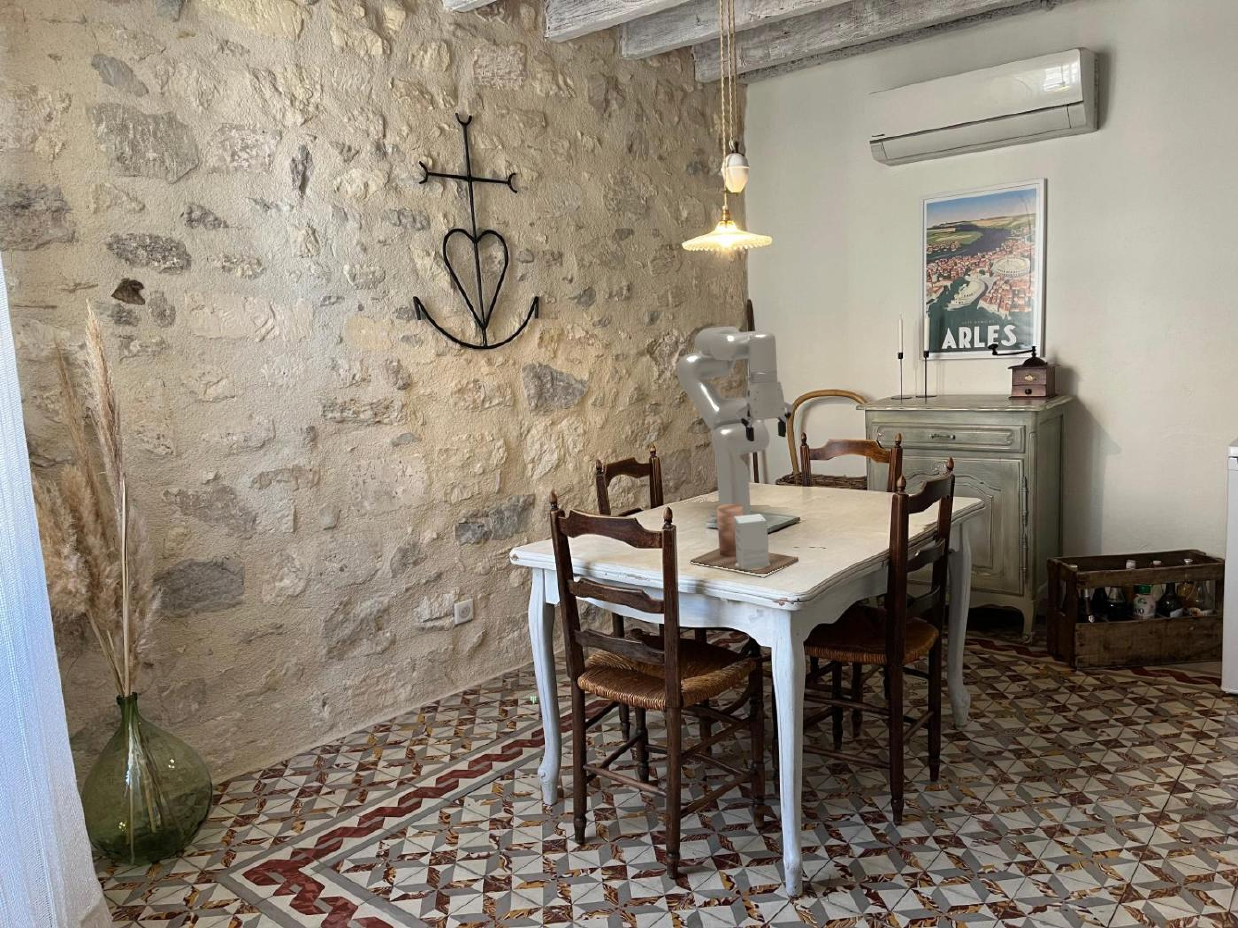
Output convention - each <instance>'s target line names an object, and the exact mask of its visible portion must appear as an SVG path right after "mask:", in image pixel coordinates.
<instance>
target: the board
mask: <svg viewBox="0 0 1238 928" xmlns="http://www.w3.org/2000/svg"><path fill="white" fill-rule="evenodd" d="M716 510H717V517H718V528H717V531H718V533H717V534H718V548H715V549H714V550H712V551H709V552H707V553H705V554H702V555H699V556H698V557H697V556H696V557H695V558H692V559H690V563H691V562H693V563H699V564H704V565H709V566H718V567H723V568H728V569H734V570H739V571H744V572H750V573H755V574H768V573H770V572H772V571H775V570H777V569H780V568H782V567H785V566H787V567H789V566H791V565H793V564H795V563H798V562H799V557H798V556H794V555H793V556H791V555H785V554H779V553H774V552H769V551H768V553H769V566H768V567H759V568H749V569H742V568H741V566H740V565H739V564H738V562H737V559H736V541H735V526H734V516H743V506H742V505H739V504H725V505H720V506H719V505H718V506H717V507H716ZM717 517H716V518H717ZM785 568H786V567H785Z"/></svg>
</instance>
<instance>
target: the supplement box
mask: <svg viewBox="0 0 1238 928" xmlns="http://www.w3.org/2000/svg"><path fill="white" fill-rule="evenodd" d="M734 526H735V541H736V559H737V562H738V564H739V565H740V566H741V568H742V569H749V568H759V567H768V566H769V553H770V552H769V538H768V535H769V534H768V521H767V520H766V518H765V517H764V516H763V515H762V514H761V513H756V514H751V515H744V516H734ZM768 552H769V553H768Z"/></svg>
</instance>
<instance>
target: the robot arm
mask: <svg viewBox="0 0 1238 928" xmlns="http://www.w3.org/2000/svg"><path fill="white" fill-rule="evenodd" d="M776 341H777V340H776V336H775V334H774V333H772V332H764V331H761V330H753V331H751V330H750V331H742V332H741V331H740V330H739V329H738V328H737V327H735V326H730V325H729V326H719V327H718V326H717V327H708V328H705V329H703V330H700V331H699V332H698V333H697V334H696V336H695V339H694V346H695V348H696V350H697V351H698V352H693V353H688V354H685V355H683V356H682V357H680V358H679V359H678V361H677V363H676V375H677V378H678V379H677V380H678V382H679V384H680V386H681V387H682V390H683V391H684V392H685V394H686V395H687V396H688V397H689V398H690V399H691V401H692V402H693V403H694V404H695V406H696V409H697V411H698V412H699V414H700V416H701V418H702V419H703V421H704V423H705V424H706V426H707V427H708V428H709V429H710V430H712V431H713V432H712V434H711V443H712V447H713V448H712V449H713V452H714V457H715V465H716V475H717V491H718V496H717V497H718V506H720V505H725V504H739V505H742V506H743V516H744V515H752V513H751V494H750V479H749V476H750V475H749V467H748V466H747V464H746V462H744V460H743V459H742V458H741V455H746V454H753V453H759V452H763V451H764V450H766V449H767V448H768V446H769V445H770V434H769V430H768V428H767V425H766V424H765V422H764V421H765V420H771V419H777V420H778V421H777V433H778V434H777V435H778V437H781V438H786V434H787V423H788V421H789V419H790V418H791V416H792V413H793V411H794V408H795V406H794V405H792V404H790V403H788V402H786V401H785V396H784V391H783V386H782V382H781V381H779V380H778V367H777V366H778V363H777V346H776V345H777V344H776ZM747 359H748V369H749V372H748V375H745V381H748V382H749V383H748V385H747V389H746V397H732V398H724V397H723V396H722V394H721V392H720V391H719V389H718V388H717V387H716V386H715V385H713V384H712V383H710V382H708V381H707V380H705V379H711V378H722V377H725V376H728V374H730V373H731V371H732V369H733V368H734V366H735V363H736V361H737V360H738V361H739V360H747ZM710 517H712V518H716V520H717V521H716V520H715V523H714V525H715V528H716V529H718V517H717V509H712V511H711V513H710Z"/></svg>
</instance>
